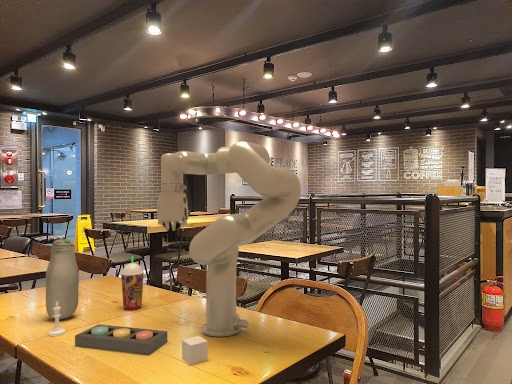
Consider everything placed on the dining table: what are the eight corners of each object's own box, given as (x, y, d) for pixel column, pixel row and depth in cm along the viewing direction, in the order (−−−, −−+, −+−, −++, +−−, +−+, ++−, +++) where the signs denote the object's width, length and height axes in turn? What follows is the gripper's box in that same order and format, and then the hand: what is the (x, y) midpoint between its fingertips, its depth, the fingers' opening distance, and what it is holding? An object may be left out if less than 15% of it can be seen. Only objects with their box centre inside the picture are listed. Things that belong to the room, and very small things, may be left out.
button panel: (167, 341, 111) (167, 331, 111) (148, 355, 102) (148, 343, 102) (98, 333, 118) (98, 324, 118) (74, 346, 108) (74, 335, 108)
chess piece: (46, 337, 115) (46, 304, 116) (50, 331, 120) (50, 300, 120) (63, 335, 117) (63, 303, 117) (67, 330, 122) (67, 299, 122)
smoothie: (136, 311, 141) (136, 258, 141) (116, 310, 142) (116, 257, 143) (147, 305, 149) (147, 254, 149) (128, 304, 150) (128, 254, 151)
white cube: (198, 354, 102) (198, 335, 103) (207, 360, 98) (207, 341, 99) (181, 358, 100) (181, 339, 100) (190, 365, 96) (190, 345, 96)
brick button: (155, 340, 109) (155, 331, 109) (147, 346, 105) (147, 336, 105) (141, 338, 111) (141, 329, 111) (132, 344, 106) (132, 335, 106)
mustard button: (133, 337, 111) (133, 329, 111) (123, 343, 107) (123, 334, 107) (119, 336, 113) (119, 327, 113) (109, 342, 108) (109, 333, 108)
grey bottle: (62, 324, 127) (62, 241, 128) (39, 321, 131) (39, 240, 131) (84, 315, 137) (84, 238, 137) (62, 312, 140) (62, 237, 141)
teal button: (111, 335, 113) (111, 326, 113) (101, 341, 109) (101, 332, 109) (98, 334, 115) (98, 325, 115) (87, 339, 110) (87, 330, 110)
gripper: (196, 189, 133) (196, 241, 133) (158, 189, 137) (158, 240, 137) (186, 188, 126) (187, 243, 126) (147, 189, 130) (147, 242, 130)
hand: (172, 241), depth 131 cm, fingers closed
